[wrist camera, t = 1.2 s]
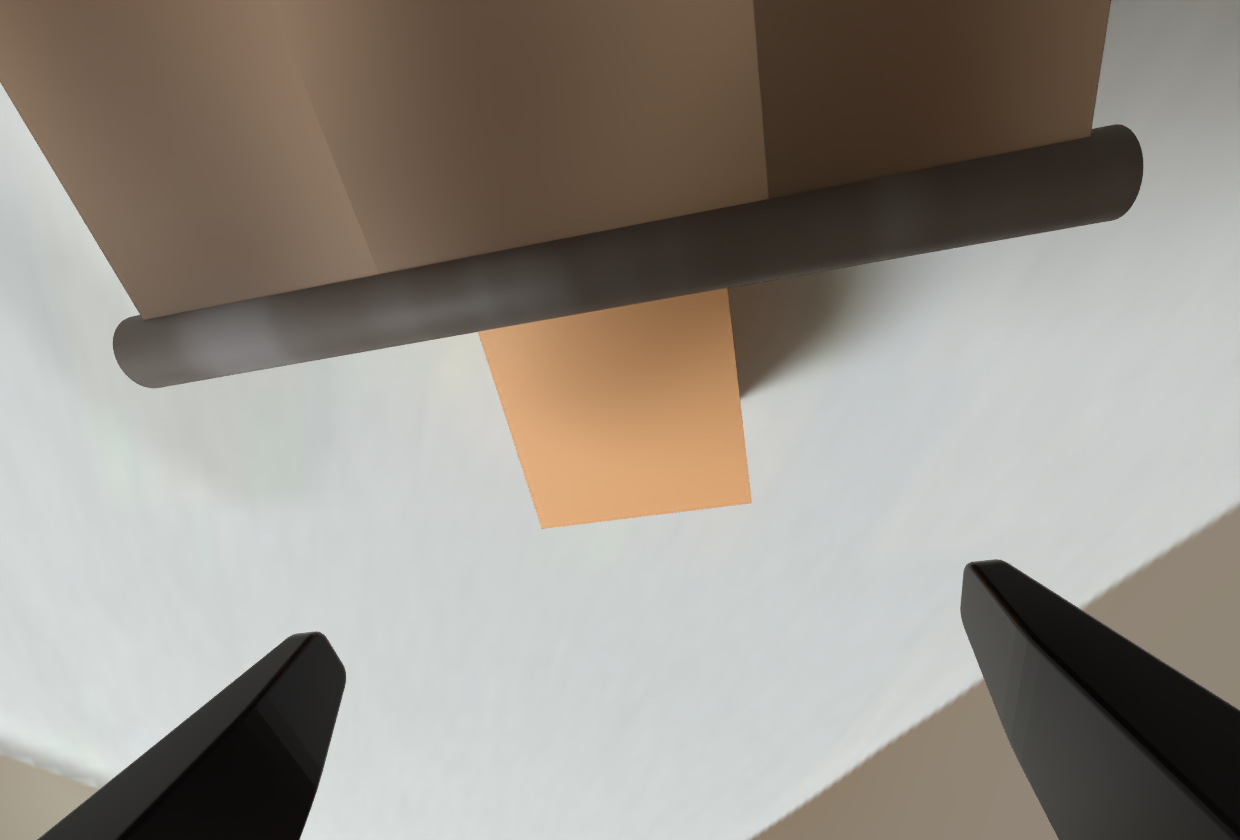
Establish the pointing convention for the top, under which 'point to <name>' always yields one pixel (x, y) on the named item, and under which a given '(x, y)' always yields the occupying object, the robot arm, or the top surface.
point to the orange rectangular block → (625, 409)
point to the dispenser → (538, 154)
